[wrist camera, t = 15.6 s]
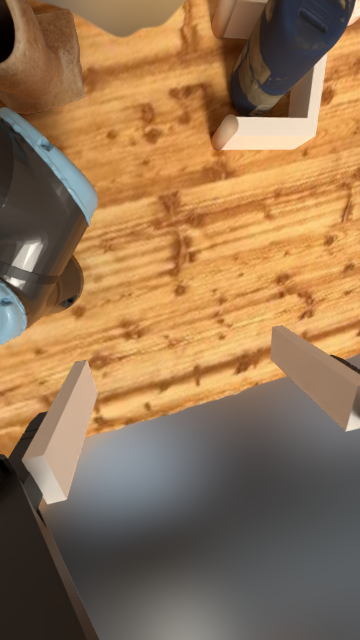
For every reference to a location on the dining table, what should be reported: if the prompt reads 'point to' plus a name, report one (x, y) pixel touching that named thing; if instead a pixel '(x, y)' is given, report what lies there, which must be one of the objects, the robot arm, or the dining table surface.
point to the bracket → (288, 133)
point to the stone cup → (38, 58)
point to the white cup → (355, 13)
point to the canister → (285, 50)
